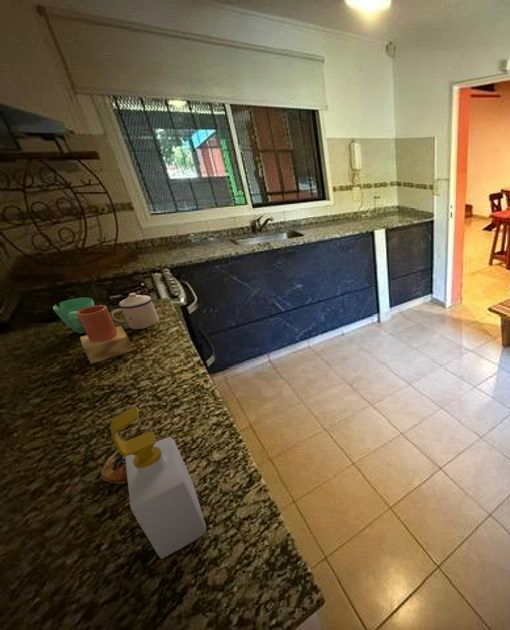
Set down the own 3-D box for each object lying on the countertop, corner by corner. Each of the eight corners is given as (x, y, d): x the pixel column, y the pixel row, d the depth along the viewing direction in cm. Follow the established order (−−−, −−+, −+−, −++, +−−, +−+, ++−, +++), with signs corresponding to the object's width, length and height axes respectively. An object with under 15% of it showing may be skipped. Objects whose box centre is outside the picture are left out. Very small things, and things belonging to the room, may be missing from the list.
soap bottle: (208, 533, 56) (160, 427, 46) (160, 562, 52) (95, 453, 42) (193, 483, 64) (149, 384, 54) (150, 505, 61) (94, 402, 50)
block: (91, 363, 100) (83, 349, 97) (86, 350, 106) (79, 337, 103) (133, 350, 106) (127, 336, 104) (127, 339, 112) (121, 325, 110)
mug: (67, 328, 118) (54, 302, 114) (104, 320, 124) (92, 295, 119) (64, 346, 108) (49, 317, 104) (104, 336, 114) (91, 309, 109)
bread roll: (172, 468, 67) (159, 451, 65) (103, 501, 63) (86, 483, 60) (174, 433, 76) (162, 417, 73) (113, 460, 71) (99, 443, 69)
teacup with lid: (158, 315, 127) (147, 286, 122) (161, 324, 121) (149, 294, 116) (117, 325, 121) (104, 294, 115) (117, 335, 114) (103, 303, 109)
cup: (87, 344, 100) (73, 316, 96) (92, 334, 105) (79, 308, 101) (116, 338, 103) (103, 311, 99) (119, 329, 108) (107, 303, 104)
